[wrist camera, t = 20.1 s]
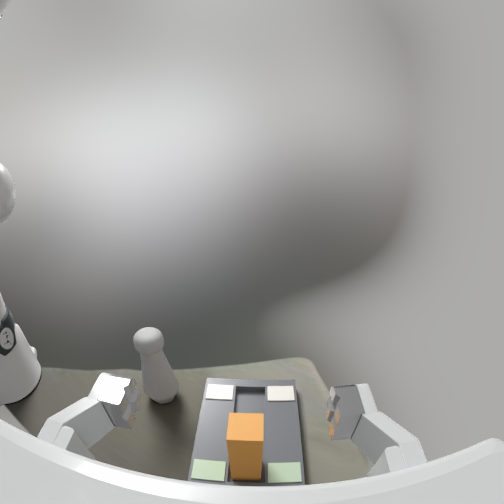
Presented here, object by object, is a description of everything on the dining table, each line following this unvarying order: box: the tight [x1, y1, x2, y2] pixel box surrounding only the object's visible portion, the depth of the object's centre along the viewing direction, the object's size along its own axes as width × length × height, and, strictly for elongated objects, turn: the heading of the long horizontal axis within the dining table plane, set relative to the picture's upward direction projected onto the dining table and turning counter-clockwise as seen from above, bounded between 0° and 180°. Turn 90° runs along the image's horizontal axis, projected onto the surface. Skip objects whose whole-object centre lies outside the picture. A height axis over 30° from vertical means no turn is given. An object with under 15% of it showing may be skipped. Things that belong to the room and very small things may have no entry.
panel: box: [188, 378, 305, 486], centre depth 35 cm, size 14×20×2 cm
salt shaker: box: [133, 327, 179, 404], centre depth 40 cm, size 6×6×13 cm
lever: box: [226, 412, 264, 481], centre depth 27 cm, size 4×4×11 cm
